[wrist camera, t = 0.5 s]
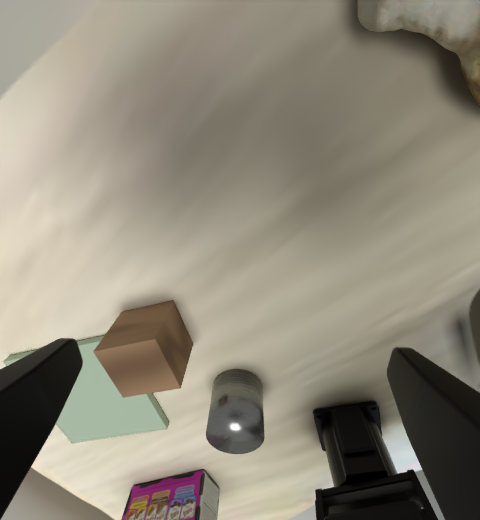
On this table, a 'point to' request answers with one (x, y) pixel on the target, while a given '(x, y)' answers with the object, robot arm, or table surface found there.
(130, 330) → the walnut block
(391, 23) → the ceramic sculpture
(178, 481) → the candy bar box
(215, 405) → the metal cylinder
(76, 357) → the robot arm
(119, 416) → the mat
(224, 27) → the table surface
